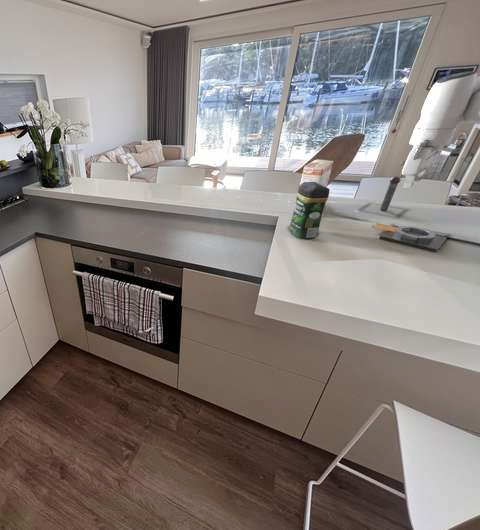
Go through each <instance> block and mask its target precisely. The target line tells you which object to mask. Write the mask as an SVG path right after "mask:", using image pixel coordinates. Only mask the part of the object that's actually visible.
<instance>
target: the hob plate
mask: <svg viewBox="0 0 480 530" xmlns="http://www.w3.org/2000/svg"><path fill="white" fill-rule="evenodd" d="M392 226H394V227H400V226H398V225H392ZM403 232H405V233H407V234H411V235H415V236H425V235H424V234H421V233H416V232H412V231H403ZM435 234H436V236H435V238H434V239H433V240H432V241H430V242H417V241H412V240H408V239H403V238H400V237H399V236H397V235H396V234H394V232H392V231H387V230H385V231H384V232H383V233H382V234H380V236H379V240H383V241H388V242H390V243H391V242H392V243H395V244H399V245H404V246H408V247H412V248H417V249H420V250H425V251H429V252H433V253H437V251H438V250H440V248H441V247H442V245H443V244H444V243H445V242H446V240H447V239H448V238H449V236H447V235H443V234H437V233H435Z"/></svg>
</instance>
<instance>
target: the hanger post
mask: <svg viewBox="0 0 480 530" xmlns="http://www.w3.org/2000/svg"><path fill="white" fill-rule="evenodd" d="M400 182H401V177H399V176H393V177H391V178H390V179H389V184H388V187H387V189H386V192H385V194H384V197H383V199H382V202H381V205H380V207H379V209H378V210H379V211H380V212H388V209H389V207H390V205H391V202H392V200H393V197H394V195H395V193H396V190H397V188H398V186H399V183H400Z"/></svg>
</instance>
